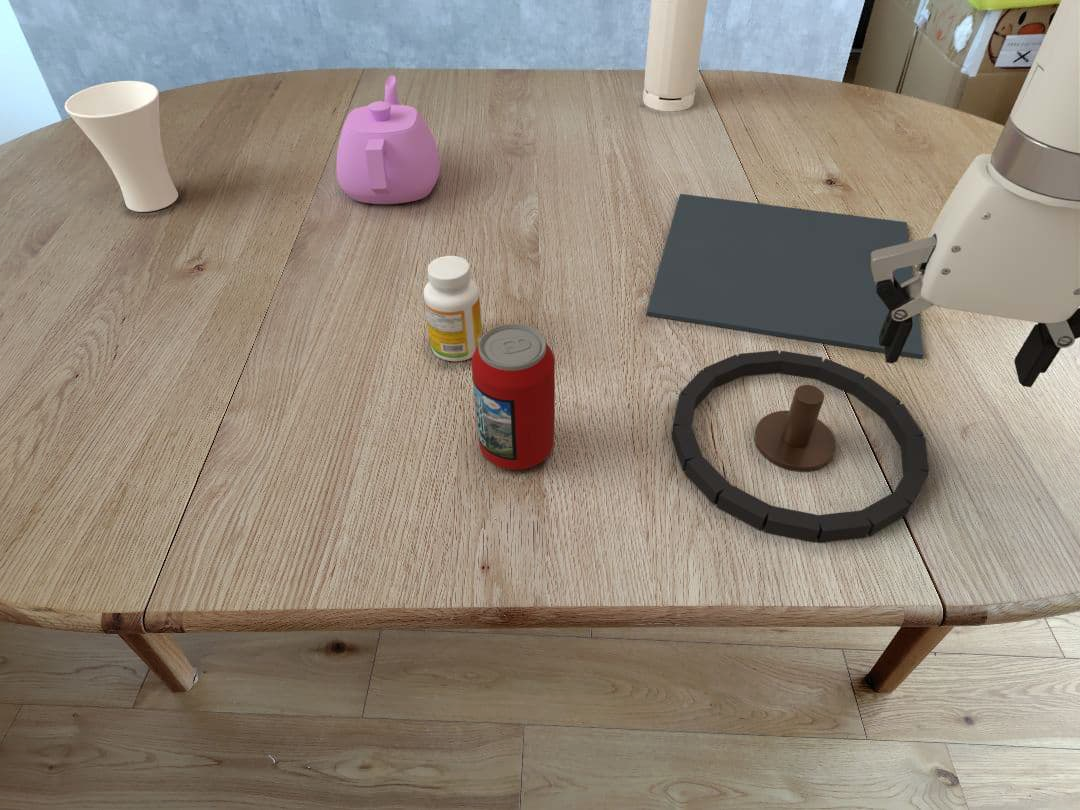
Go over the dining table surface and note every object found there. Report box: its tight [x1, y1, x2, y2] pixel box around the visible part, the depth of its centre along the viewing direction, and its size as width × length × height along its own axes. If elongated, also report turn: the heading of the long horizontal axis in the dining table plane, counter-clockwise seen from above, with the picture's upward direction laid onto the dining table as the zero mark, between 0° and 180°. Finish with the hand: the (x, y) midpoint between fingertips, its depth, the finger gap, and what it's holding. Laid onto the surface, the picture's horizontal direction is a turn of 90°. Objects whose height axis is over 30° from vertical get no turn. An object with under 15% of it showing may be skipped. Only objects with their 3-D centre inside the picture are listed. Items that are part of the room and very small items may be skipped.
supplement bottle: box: [423, 255, 484, 362], centre depth 76 cm, size 5×5×10 cm
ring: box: [671, 349, 930, 543], centre depth 69 cm, size 22×22×2 cm
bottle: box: [642, 0, 708, 112], centre depth 113 cm, size 8×8×28 cm
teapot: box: [336, 75, 441, 205], centre depth 100 cm, size 13×20×11 cm
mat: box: [645, 193, 925, 360], centre depth 89 cm, size 28×26×1 cm
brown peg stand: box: [754, 384, 837, 473], centre depth 67 cm, size 7×7×6 cm
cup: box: [64, 80, 179, 213], centre depth 96 cm, size 10×10×14 cm
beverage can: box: [470, 323, 556, 470], centre depth 65 cm, size 7×7×12 cm
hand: (954, 363), depth 59 cm, fingers open, 9 cm apart
